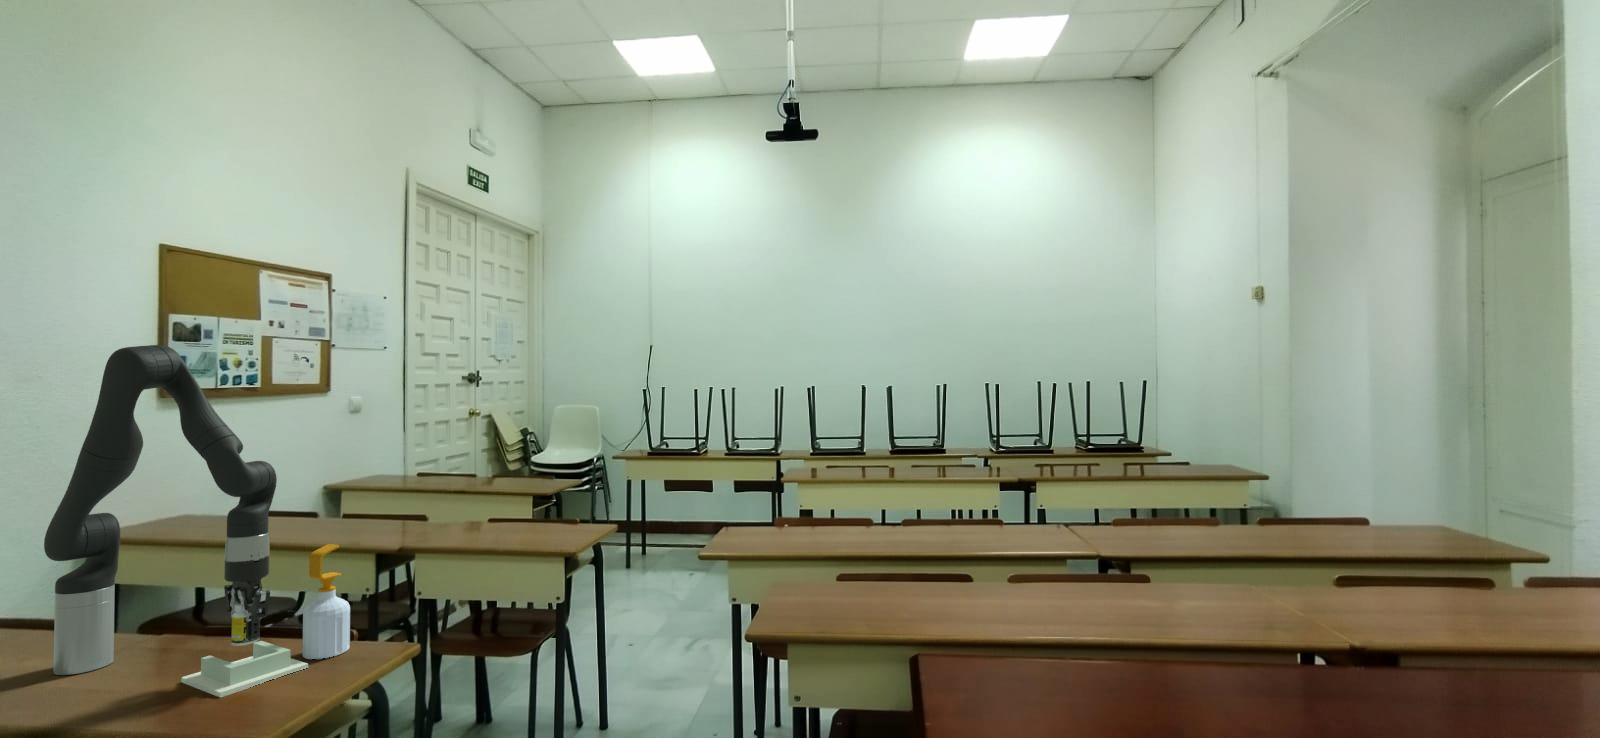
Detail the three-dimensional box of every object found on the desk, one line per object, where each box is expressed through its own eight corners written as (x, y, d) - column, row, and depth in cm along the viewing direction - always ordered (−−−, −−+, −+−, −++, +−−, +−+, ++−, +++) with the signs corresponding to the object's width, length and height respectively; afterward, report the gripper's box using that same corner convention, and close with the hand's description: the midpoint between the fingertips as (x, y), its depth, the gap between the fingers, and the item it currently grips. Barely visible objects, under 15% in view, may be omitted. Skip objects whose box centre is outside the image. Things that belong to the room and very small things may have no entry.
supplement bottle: (243, 647, 146) (244, 606, 146) (225, 645, 147) (226, 605, 147) (265, 639, 151) (266, 599, 151) (247, 637, 152) (248, 598, 152)
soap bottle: (358, 648, 163) (359, 543, 164) (317, 663, 155) (319, 551, 156) (334, 643, 167) (335, 540, 168) (293, 656, 159) (294, 548, 159)
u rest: (181, 682, 145) (181, 660, 145) (268, 655, 159) (269, 635, 160) (220, 697, 138) (220, 674, 138) (308, 668, 152) (308, 647, 152)
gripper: (209, 555, 149) (208, 636, 149) (244, 563, 143) (243, 647, 142) (250, 548, 156) (249, 625, 155) (285, 555, 149) (284, 635, 149)
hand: (246, 635), depth 149 cm, fingers closed on supplement bottle, 4 cm apart
